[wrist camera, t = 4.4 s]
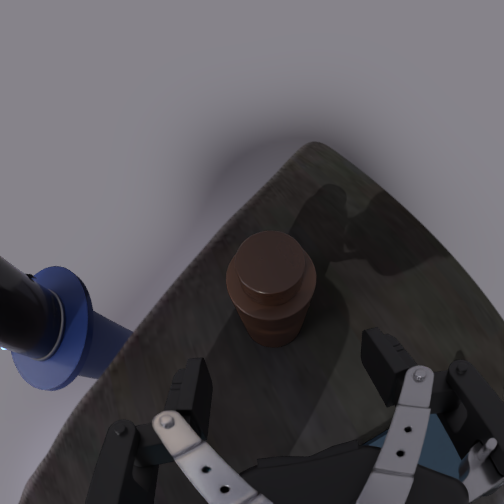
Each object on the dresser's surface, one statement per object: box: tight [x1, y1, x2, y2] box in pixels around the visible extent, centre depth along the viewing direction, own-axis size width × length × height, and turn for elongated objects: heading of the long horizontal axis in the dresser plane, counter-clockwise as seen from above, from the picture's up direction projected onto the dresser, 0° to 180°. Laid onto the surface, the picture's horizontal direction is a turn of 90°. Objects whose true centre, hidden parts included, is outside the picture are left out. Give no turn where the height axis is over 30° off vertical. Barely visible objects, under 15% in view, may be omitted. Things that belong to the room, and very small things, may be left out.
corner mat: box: [363, 414, 461, 480], centre depth 14 cm, size 15×15×2 cm
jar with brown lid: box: [226, 231, 316, 348], centre depth 19 cm, size 5×5×12 cm
